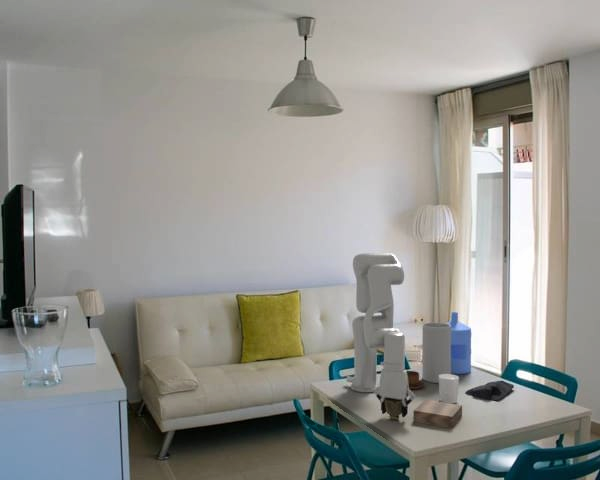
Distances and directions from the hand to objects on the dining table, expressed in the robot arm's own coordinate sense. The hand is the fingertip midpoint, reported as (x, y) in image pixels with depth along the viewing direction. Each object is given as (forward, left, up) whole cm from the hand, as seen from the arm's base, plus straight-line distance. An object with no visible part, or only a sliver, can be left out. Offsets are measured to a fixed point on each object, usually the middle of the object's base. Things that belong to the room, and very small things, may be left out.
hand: (394, 414), depth 211 cm
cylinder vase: (-1, +58, -2) cm, 58 cm away
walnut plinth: (+14, +8, -2) cm, 16 cm away
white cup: (+12, +30, -2) cm, 32 cm away
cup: (0, 0, -2) cm, 2 cm away
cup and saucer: (-8, +42, -2) cm, 43 cm away
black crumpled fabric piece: (+25, +51, -3) cm, 56 cm away
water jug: (+2, +78, -2) cm, 78 cm away
